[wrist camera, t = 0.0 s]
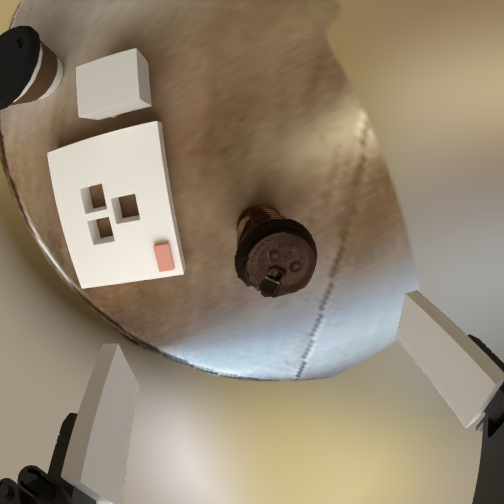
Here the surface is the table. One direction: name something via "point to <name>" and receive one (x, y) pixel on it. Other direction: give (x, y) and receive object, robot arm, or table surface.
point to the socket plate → (118, 206)
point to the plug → (113, 85)
